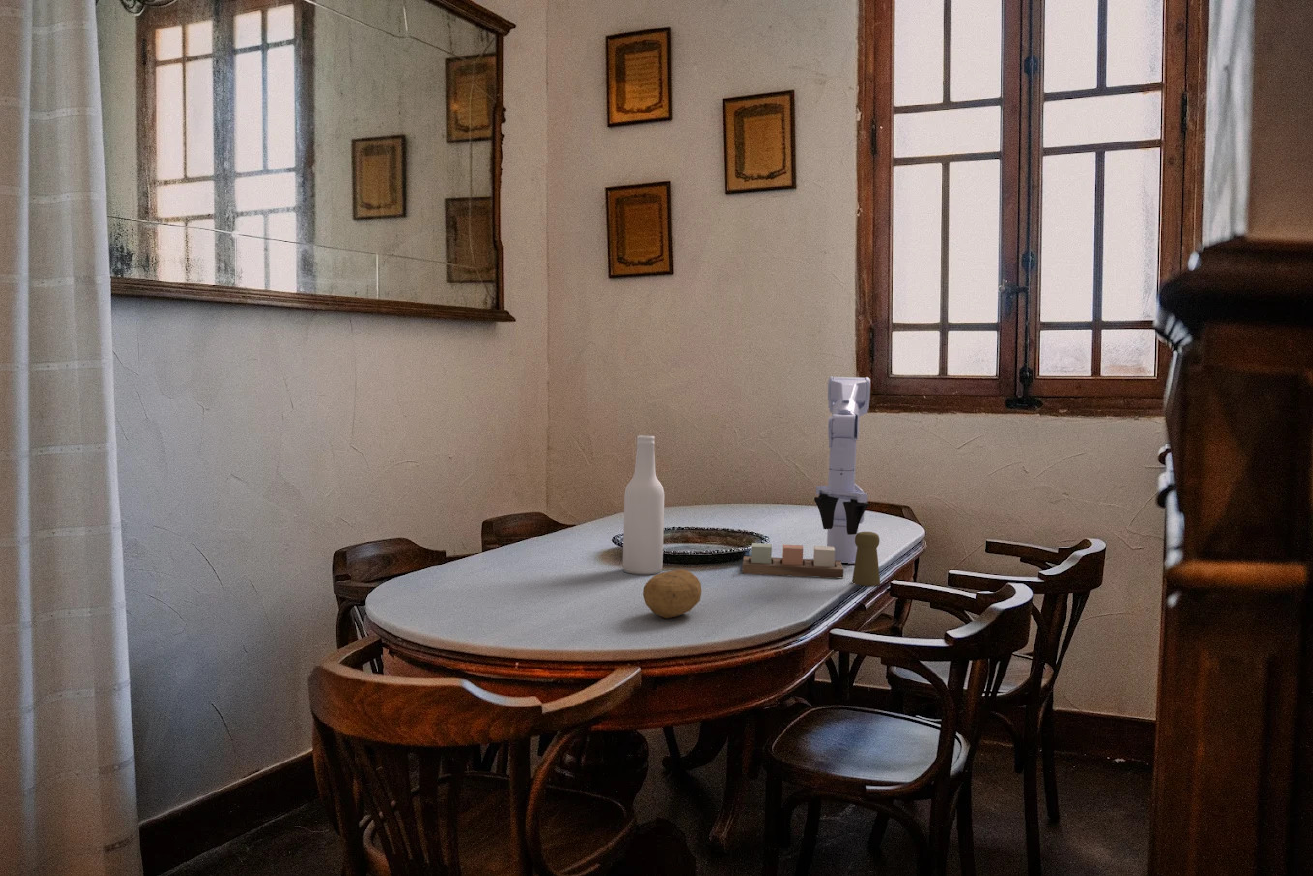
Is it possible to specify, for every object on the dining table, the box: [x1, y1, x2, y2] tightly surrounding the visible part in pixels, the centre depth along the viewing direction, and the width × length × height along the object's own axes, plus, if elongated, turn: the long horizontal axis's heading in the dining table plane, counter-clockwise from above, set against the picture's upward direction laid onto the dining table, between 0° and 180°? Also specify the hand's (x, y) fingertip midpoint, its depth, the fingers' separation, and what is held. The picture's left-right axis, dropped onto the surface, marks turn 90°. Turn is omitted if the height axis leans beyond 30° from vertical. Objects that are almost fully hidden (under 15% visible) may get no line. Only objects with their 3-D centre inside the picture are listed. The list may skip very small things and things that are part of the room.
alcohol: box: [622, 434, 665, 576], centre depth 227 cm, size 9×9×30 cm
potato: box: [642, 568, 702, 619], centre depth 188 cm, size 10×14×8 cm
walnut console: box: [742, 555, 844, 578], centre depth 232 cm, size 10×22×2 cm, turn 84°
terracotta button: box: [781, 544, 804, 565], centre depth 232 cm, size 4×4×4 cm
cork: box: [851, 531, 881, 587], centre depth 221 cm, size 6×6×11 cm
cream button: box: [812, 545, 835, 567], centre depth 231 cm, size 4×4×4 cm
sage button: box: [750, 542, 773, 564], centre depth 233 cm, size 4×4×4 cm
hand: (839, 531), depth 225 cm, fingers open, 7 cm apart
